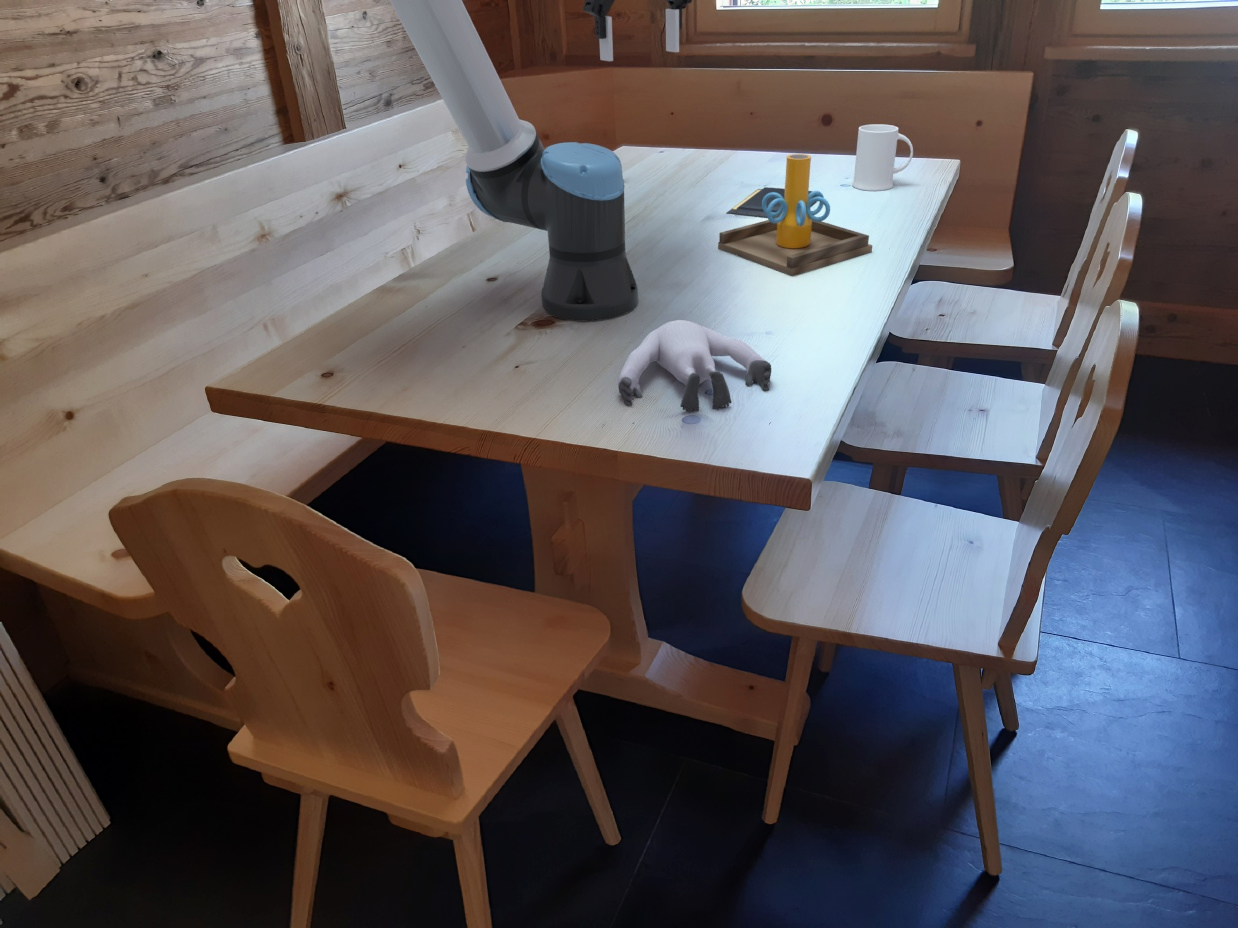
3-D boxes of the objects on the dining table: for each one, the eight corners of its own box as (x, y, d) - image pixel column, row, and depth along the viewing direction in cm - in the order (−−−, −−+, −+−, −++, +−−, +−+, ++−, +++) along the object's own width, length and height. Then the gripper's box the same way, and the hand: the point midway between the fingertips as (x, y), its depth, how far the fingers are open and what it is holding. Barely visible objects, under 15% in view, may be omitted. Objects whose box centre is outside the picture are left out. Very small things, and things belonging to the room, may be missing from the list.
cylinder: (749, 248, 159) (753, 161, 152) (770, 232, 167) (774, 147, 159) (817, 257, 154) (825, 167, 147) (835, 239, 162) (843, 152, 154)
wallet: (795, 215, 176) (722, 207, 182) (795, 224, 177) (722, 216, 183) (827, 189, 191) (759, 183, 197) (826, 198, 192) (758, 192, 198)
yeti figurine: (777, 423, 112) (752, 353, 129) (785, 374, 109) (758, 309, 126) (618, 418, 111) (613, 349, 128) (621, 369, 108) (616, 304, 124)
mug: (909, 182, 198) (916, 124, 192) (908, 192, 191) (915, 133, 185) (853, 180, 201) (858, 123, 195) (850, 190, 194) (856, 131, 188)
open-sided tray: (792, 276, 150) (793, 258, 149) (718, 248, 164) (718, 232, 162) (871, 251, 159) (873, 235, 158) (794, 227, 173) (795, 212, 171)
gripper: (582, -90, 133) (590, 66, 144) (714, -96, 145) (712, 50, 156) (556, -89, 139) (565, 62, 150) (685, -94, 150) (685, 46, 161)
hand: (640, 56), depth 153 cm, fingers open, 13 cm apart
